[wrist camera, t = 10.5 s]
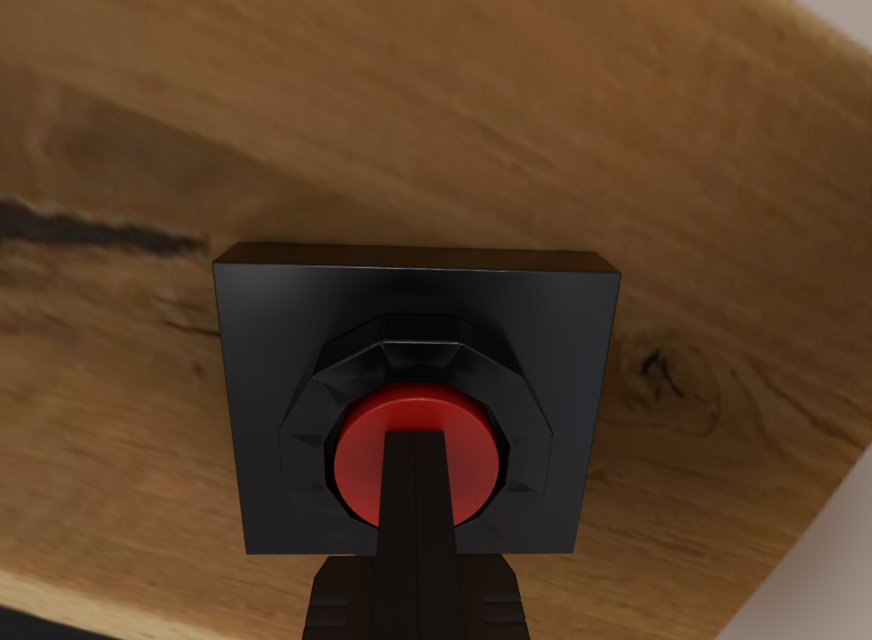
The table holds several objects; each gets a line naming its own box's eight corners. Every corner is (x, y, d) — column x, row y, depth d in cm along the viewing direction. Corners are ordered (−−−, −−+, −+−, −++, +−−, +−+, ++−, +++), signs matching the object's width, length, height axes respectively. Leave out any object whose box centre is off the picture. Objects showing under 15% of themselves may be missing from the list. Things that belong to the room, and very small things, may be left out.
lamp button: (496, 368, 15) (506, 399, 14) (484, 493, 17) (492, 535, 15) (339, 365, 15) (330, 396, 13) (343, 493, 17) (335, 535, 15)
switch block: (596, 252, 17) (650, 293, 13) (557, 509, 20) (589, 599, 17) (236, 241, 16) (183, 282, 12) (262, 509, 20) (228, 602, 16)
